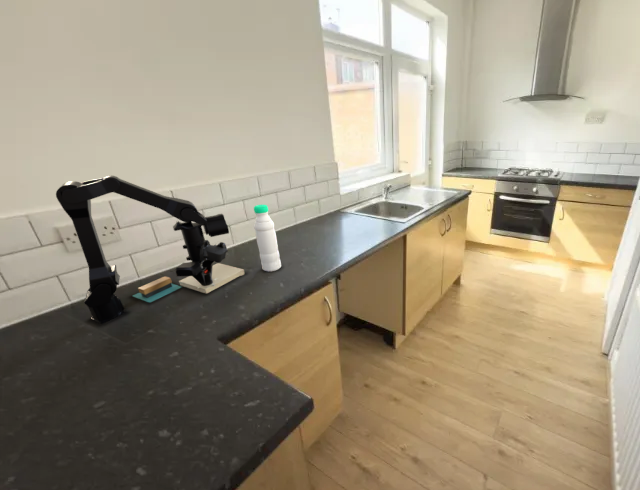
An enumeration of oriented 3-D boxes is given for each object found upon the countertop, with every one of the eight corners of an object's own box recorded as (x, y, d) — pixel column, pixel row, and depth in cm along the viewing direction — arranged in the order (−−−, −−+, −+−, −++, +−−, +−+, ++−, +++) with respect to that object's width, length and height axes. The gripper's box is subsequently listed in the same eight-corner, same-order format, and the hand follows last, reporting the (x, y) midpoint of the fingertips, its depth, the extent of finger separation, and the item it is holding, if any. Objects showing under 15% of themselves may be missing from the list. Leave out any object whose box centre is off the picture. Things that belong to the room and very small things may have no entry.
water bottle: (284, 264, 126) (274, 203, 116) (277, 272, 120) (265, 208, 110) (267, 264, 127) (255, 203, 117) (259, 272, 121) (246, 208, 110)
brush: (146, 298, 104) (143, 290, 103) (140, 296, 105) (137, 288, 104) (173, 286, 111) (170, 277, 110) (167, 284, 113) (164, 276, 111)
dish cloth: (150, 303, 102) (149, 302, 102) (132, 296, 106) (131, 295, 106) (182, 287, 111) (182, 286, 111) (165, 282, 115) (164, 281, 115)
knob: (209, 285, 108) (206, 274, 106) (199, 285, 108) (195, 274, 106) (215, 280, 111) (212, 269, 109) (205, 280, 111) (201, 269, 109)
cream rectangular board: (206, 296, 105) (204, 290, 105) (177, 287, 112) (176, 281, 111) (246, 274, 119) (245, 269, 118) (219, 267, 125) (217, 262, 124)
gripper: (204, 251, 94) (217, 296, 101) (232, 229, 111) (241, 269, 118) (167, 251, 94) (182, 296, 101) (200, 230, 111) (211, 270, 118)
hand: (206, 282), depth 109 cm, fingers closed on knob, 4 cm apart
